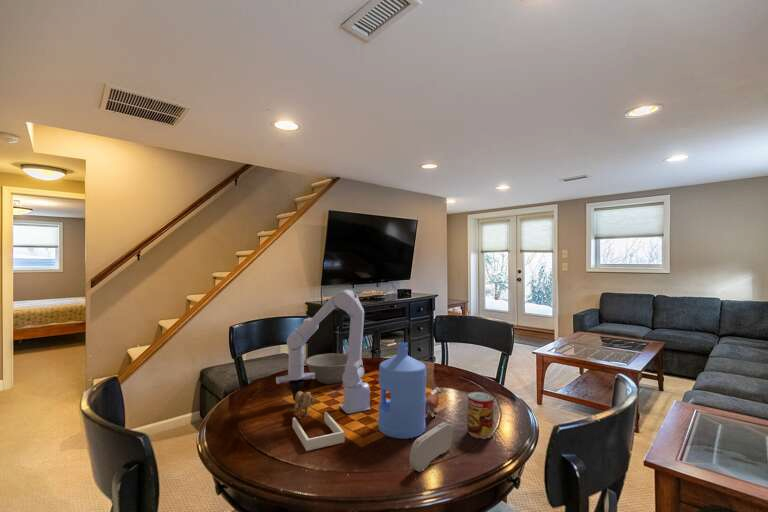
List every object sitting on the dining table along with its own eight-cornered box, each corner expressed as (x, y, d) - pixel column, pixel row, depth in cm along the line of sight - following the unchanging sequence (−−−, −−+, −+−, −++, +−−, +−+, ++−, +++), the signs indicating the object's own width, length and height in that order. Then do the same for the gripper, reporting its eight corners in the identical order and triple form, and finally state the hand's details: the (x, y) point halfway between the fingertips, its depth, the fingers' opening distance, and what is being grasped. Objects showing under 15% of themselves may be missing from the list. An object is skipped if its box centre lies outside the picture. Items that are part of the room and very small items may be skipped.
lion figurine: (316, 418, 125) (317, 392, 125) (301, 422, 122) (302, 395, 122) (300, 404, 137) (301, 380, 137) (286, 407, 134) (287, 383, 134)
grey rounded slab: (446, 445, 108) (446, 417, 108) (453, 448, 106) (453, 419, 107) (408, 474, 93) (408, 441, 93) (415, 477, 92) (415, 444, 92)
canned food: (462, 430, 118) (463, 393, 118) (482, 426, 121) (482, 390, 121) (477, 441, 111) (477, 402, 111) (498, 437, 114) (498, 398, 114)
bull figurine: (443, 408, 135) (443, 386, 136) (433, 422, 123) (433, 398, 123) (432, 406, 137) (432, 385, 137) (420, 420, 125) (421, 396, 125)
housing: (326, 420, 124) (326, 411, 124) (344, 442, 109) (344, 432, 109) (292, 427, 118) (292, 417, 118) (306, 451, 103) (306, 440, 103)
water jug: (427, 421, 124) (429, 339, 125) (422, 443, 109) (423, 350, 110) (383, 416, 128) (385, 337, 128) (372, 436, 112) (374, 346, 113)
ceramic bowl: (294, 382, 162) (295, 360, 162) (330, 370, 180) (330, 350, 181) (331, 393, 149) (331, 369, 149) (365, 379, 168) (365, 358, 168)
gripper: (311, 359, 145) (311, 393, 145) (274, 363, 139) (274, 399, 138) (317, 363, 139) (316, 399, 139) (278, 368, 132) (277, 405, 132)
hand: (295, 399), depth 138 cm, fingers closed
